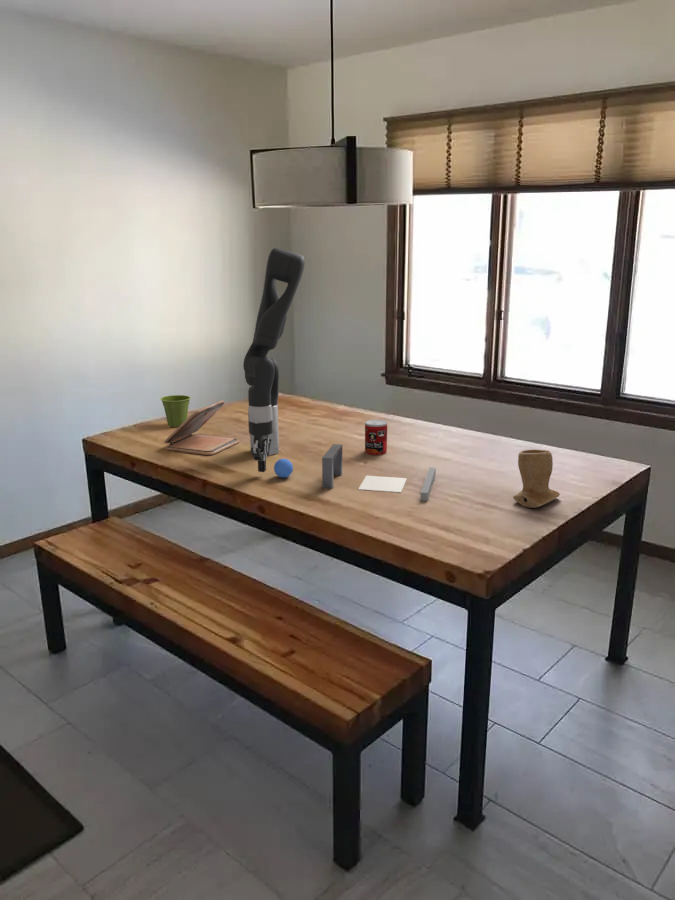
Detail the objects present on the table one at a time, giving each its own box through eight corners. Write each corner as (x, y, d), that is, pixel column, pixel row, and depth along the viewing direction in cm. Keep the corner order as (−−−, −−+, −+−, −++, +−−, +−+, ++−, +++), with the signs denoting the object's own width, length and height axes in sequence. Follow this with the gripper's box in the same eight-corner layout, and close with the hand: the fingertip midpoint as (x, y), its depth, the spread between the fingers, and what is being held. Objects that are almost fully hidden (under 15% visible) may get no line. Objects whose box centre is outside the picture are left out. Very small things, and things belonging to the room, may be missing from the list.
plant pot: (198, 424, 304) (197, 397, 300) (174, 430, 295) (172, 402, 292) (180, 420, 311) (178, 393, 308) (156, 425, 302) (154, 398, 299)
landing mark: (358, 489, 229) (358, 488, 229) (366, 476, 242) (366, 475, 242) (401, 492, 227) (401, 492, 227) (406, 478, 239) (406, 478, 239)
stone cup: (528, 489, 229) (531, 441, 225) (564, 498, 221) (568, 449, 217) (501, 502, 219) (504, 452, 214) (538, 512, 211) (542, 461, 207)
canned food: (361, 454, 265) (361, 423, 261) (369, 448, 272) (369, 418, 268) (382, 456, 262) (383, 425, 259) (389, 450, 269) (390, 420, 266)
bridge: (322, 488, 231) (322, 457, 228) (333, 472, 245) (333, 444, 242) (331, 488, 230) (331, 458, 227) (342, 473, 244) (342, 444, 241)
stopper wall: (420, 500, 220) (420, 492, 220) (429, 474, 243) (429, 467, 242) (427, 501, 220) (427, 492, 219) (435, 475, 242) (435, 467, 242)
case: (195, 436, 289) (192, 395, 284) (242, 442, 280) (240, 400, 275) (161, 450, 271) (158, 407, 266) (211, 458, 262) (208, 413, 258)
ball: (271, 479, 239) (271, 461, 237) (277, 473, 244) (276, 455, 243) (290, 480, 237) (289, 462, 236) (295, 474, 243) (295, 456, 241)
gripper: (256, 413, 244) (258, 464, 249) (241, 423, 231) (243, 476, 236) (278, 414, 242) (280, 466, 247) (264, 424, 230) (266, 478, 234)
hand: (262, 471), depth 241 cm, fingers closed
